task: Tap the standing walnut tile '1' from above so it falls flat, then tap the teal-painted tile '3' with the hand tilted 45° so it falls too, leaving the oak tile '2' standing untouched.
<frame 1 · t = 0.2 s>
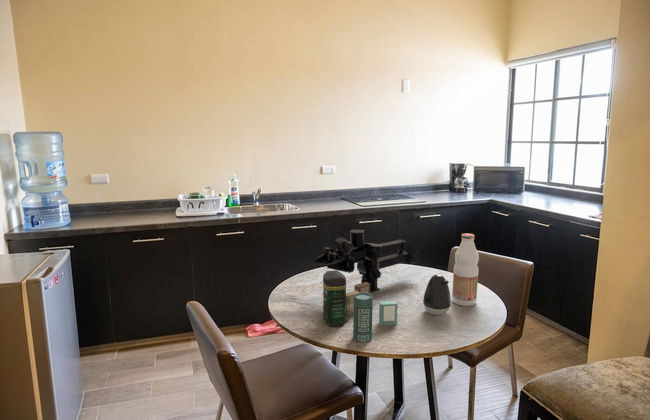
hand: (320, 263, 177), 16 cm above the table, tool horizontal, fingers open, 9 cm apart
tile 3: (388, 323, 161), on the table
coffee jar: (334, 321, 163), on the table
fruit juice: (463, 302, 180), on the table
dark rounded piece: (436, 313, 170), on the table
tile 2: (351, 313, 170), on the table
tile 1: (362, 303, 179), on the table
can: (362, 338, 151), on the table
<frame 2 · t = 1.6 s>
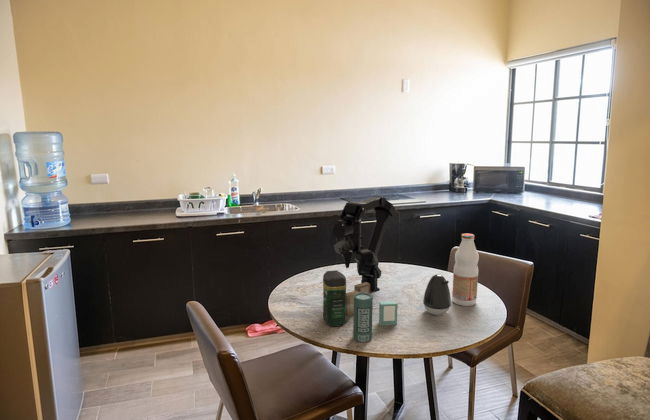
hand: (353, 270, 182), 12 cm above the table, tool pointing down, fingers open, 8 cm apart
nothing on the table moved.
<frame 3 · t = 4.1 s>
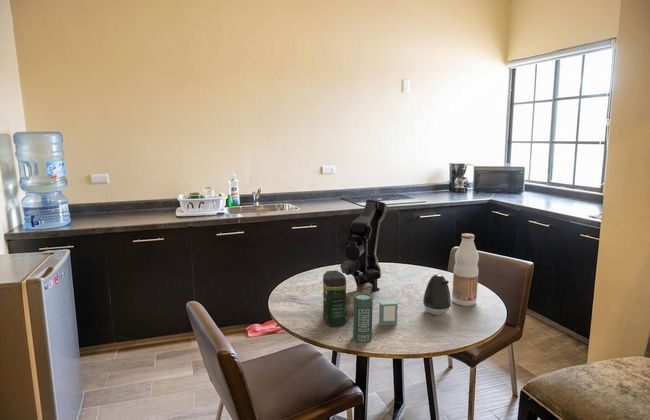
hand: (359, 290, 179), 5 cm above the table, tool pointing down, fingers closed
tile 1: (362, 302, 179), on the table, tilted 12°, touching gripper
everything else where it was.
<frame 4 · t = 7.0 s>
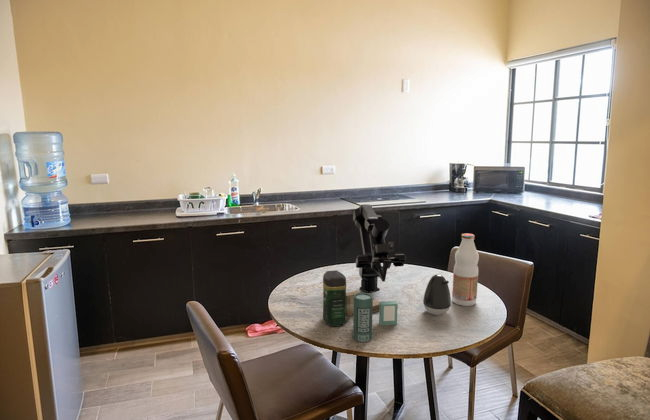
hand: (383, 281, 166), 13 cm above the table, tool tilted 45°, fingers closed
tile 1: (363, 301, 178), point 1 cm above the table, tilted 90°
everything else where it was.
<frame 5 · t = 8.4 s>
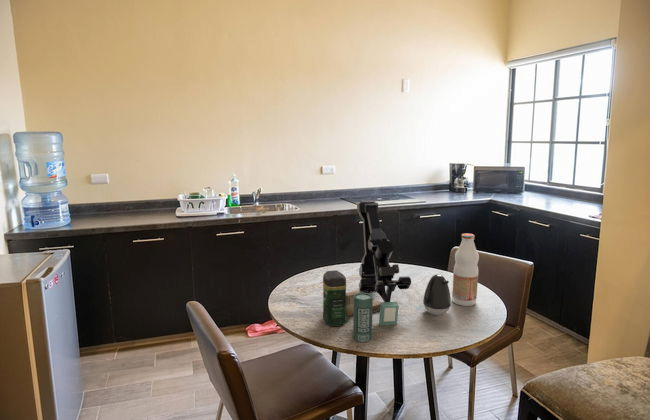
hand: (388, 305, 160), 7 cm above the table, tool tilted 45°, fingers closed
tile 3: (388, 322, 161), on the table, tilted 10°
everything else where it was.
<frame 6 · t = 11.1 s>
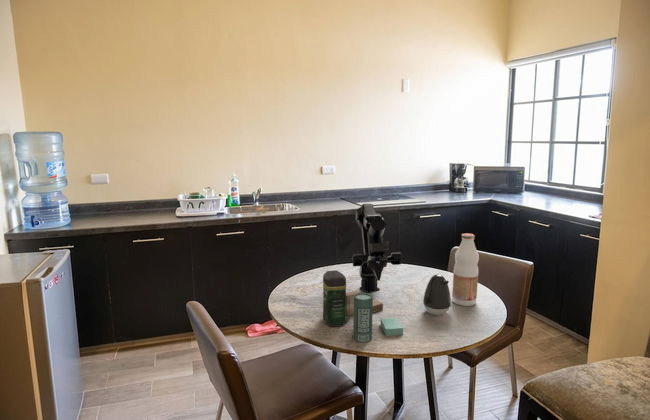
hand: (378, 280, 167), 13 cm above the table, tool tilted 45°, fingers closed
tile 3: (388, 321, 160), point 1 cm above the table, tilted 90°
everything else where it was.
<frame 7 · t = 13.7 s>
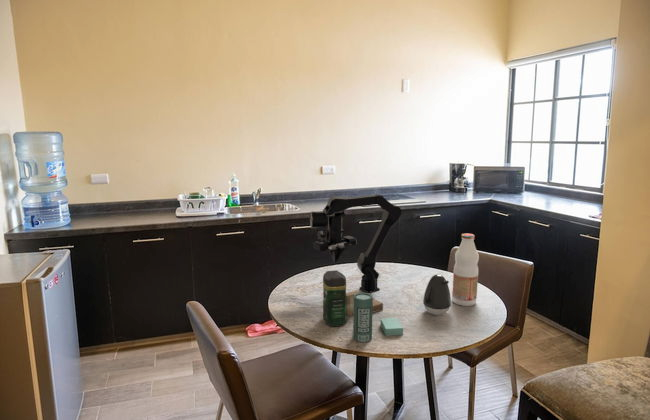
hand: (335, 262, 189), 13 cm above the table, tool pointing down, fingers closed
nothing on the table moved.
at the end: tile 1 tilted 90°; tile 3 tilted 90°; tile 2 tilted 0° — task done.
